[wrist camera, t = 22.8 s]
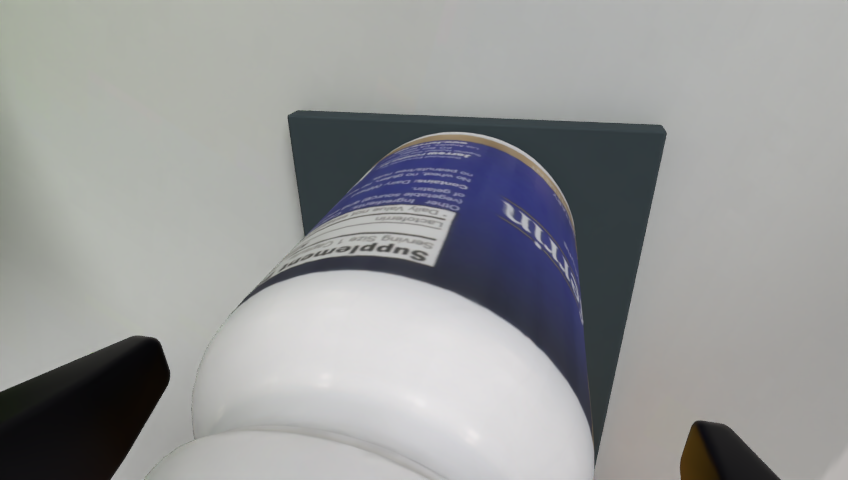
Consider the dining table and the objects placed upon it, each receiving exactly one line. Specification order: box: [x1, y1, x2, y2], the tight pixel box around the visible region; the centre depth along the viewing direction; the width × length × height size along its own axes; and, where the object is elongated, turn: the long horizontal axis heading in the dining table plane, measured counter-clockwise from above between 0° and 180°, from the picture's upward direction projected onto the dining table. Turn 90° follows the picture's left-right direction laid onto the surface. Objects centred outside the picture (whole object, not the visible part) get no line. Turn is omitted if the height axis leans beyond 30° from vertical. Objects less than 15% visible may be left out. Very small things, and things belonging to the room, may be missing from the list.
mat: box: [288, 110, 667, 469], centre depth 17 cm, size 9×22×1 cm, turn 1°
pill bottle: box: [144, 132, 594, 480], centre depth 9 cm, size 6×6×10 cm
